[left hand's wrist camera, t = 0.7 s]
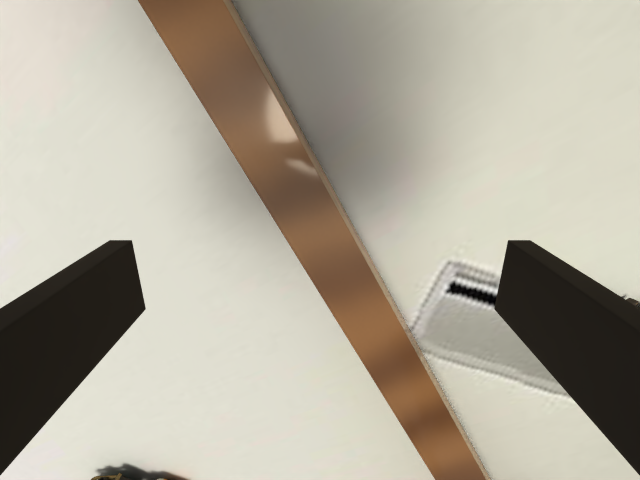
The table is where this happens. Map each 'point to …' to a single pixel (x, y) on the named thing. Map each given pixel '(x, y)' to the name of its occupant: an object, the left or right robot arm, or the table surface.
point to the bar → (312, 219)
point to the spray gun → (114, 477)
